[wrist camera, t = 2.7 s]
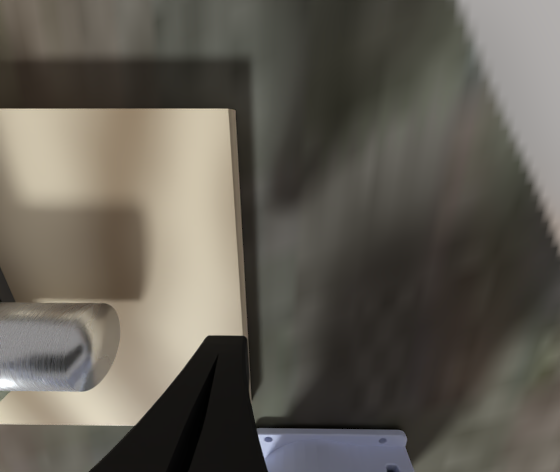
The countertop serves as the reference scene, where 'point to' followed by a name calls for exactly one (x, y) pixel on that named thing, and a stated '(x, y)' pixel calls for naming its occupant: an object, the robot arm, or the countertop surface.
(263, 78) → the countertop surface
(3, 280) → the collar block
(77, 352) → the steel peg
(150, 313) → the maple board
